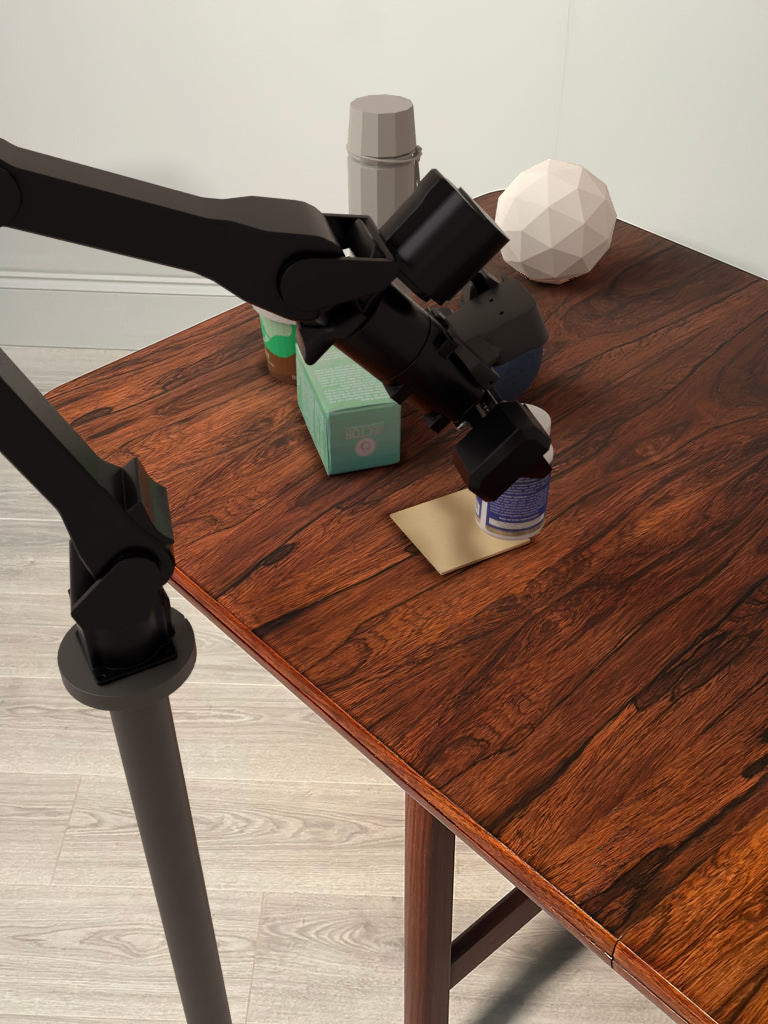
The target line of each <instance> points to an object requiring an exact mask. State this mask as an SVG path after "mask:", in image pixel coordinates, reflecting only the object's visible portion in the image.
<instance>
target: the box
mask: <svg viewBox="0 0 768 1024" xmlns="http://www.w3.org/2000/svg"><path fill="white" fill-rule="evenodd" d="M296 372H297V385H296V394H297V395H296V397H297V398H296V399H297V400H296V401H297V405H298V407H299V409H300V413H301V415H302V418H303V420H304V422H305V425H306V428H307V430H308V432H309V434H310V437H311V439H312V441H313V444H314V446H315V448H316V451H317V452H318V455H319V457H320V459H321V462H322V465H323V467H324V469H325V472H326V474H327V476H334V475H341V474H345V473H346V474H347V473H351V472H356V471H361V470H362V471H363V470H367V469H373V468H379V467H386V466H391V465H397V464H398V463H399V462H401V444H402V404H401V405H399V404H398V403H396V402H395V401H394V400H392V399H391V398H390V397H389V395H388V393H387V391H386V389H385V387H384V386H383V384H382V382H380V381H379V380H378V379H376V378H375V377H374V376H372V375H371V374H370V373H369V372H367V371H366V370H365V369H363V368H362V367H361V366H359V365H358V364H357V363H356V362H354V361H353V360H352V359H350V358H349V357H348V356H346V355H345V354H344V353H343V352H341V351H340V350H339V349H337V348H336V347H335V346H333V345H332V346H331V347H330V348H329V349H328V350H327V352H326V353H325V354H324V355H323V356H322V357H321V358H320V359H319V360H318V361H317V362H316V363H315V364H314V365H311V366H309V365H307V364H306V363H305V361H304V359H303V357H302V354H301V352H300V349H299V347H298V344H297V343H296Z"/></svg>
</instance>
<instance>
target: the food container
mask: <svg viewBox="0 0 768 1024" xmlns="http://www.w3.org/2000/svg"><path fill="white" fill-rule="evenodd" d="M251 307H252V308H253V309H254V311H255V312H256V313H258V315H259V321H260V327H261V332H262V339H263V344H264V352H265V357H266V363H267V368H268V369H267V370H268V372H269V373H270V374H271V375H272V376H273V378H275V379H276V380H278V381H280V382H282V383H286V384H289V385H293V386H297V372H296V343H297V342H296V339H295V335H296V323H295V321H291V320H288V319H285V318H283V317H280V316H278V315H276V314H273V313H271V312H268V311H266V310H264V309H261V308H259V307H257V306H254V305H252V304H251Z"/></svg>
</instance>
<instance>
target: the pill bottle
mask: <svg viewBox="0 0 768 1024" xmlns="http://www.w3.org/2000/svg"><path fill="white" fill-rule="evenodd" d="M520 403H521V404H522V405H523V404H524V403H522V402H520ZM525 404H526V405H527V407H528V408H529V410H530V411H531V412H532V414H533V415H534V416H535V418H536V419H537V420H538V421H539V423H540V424H541V426H542V427H543V428H544V430H545V431H546V432H547V434H548V435H549V436H550V434H551V425H552V420H551V419H552V418H551V416H550V415H549V413H547V411H545V410H544V409H543V408H541V407H539V406H536V405H533V404H529V403H525ZM543 456H544V458H545V459H546V460H547V462H548V463H549V464H550V466H551V467H552V468H553V463H554V447H553V445H552V444H551V445H550V449H549V451H548V452H547V453H546V454H544V455H543ZM551 476H552V472H551V473H550V474H549V475H547V476H546V477H545V478H544V479H532V478H519V479H518V480H517V481H516V482H515V483H514V484H513V485H512V486H511V487H509V488H508V489H507V490H506V491H505V492H504V493H503V494H502V495H501V496H500V497H499V498H498V499H497V500H496V501H495V502H485V501H483V500H482V499H480V498H479V497H478V496H476V500H475V520H476V523H477V524H478V526H479V527H480V528H481V529H482V530H483V531H484V532H485V533H487V534H488V535H490V536H492V537H495V538H498V539H501V540H508V541H517V540H523V539H527V538H529V539H531V538H532V537H534V536H536V535H537V534H538V533H539V532H540V531H541V530H542V529H543V527H544V525H545V521H546V516H547V509H548V500H549V493H550V486H551V478H552V477H551Z"/></svg>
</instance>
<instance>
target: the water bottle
mask: <svg viewBox="0 0 768 1024" xmlns="http://www.w3.org/2000/svg"><path fill="white" fill-rule="evenodd" d="M348 115H349V116H348V129H347V143H346V144H345V149H346V153H347V155H348V156H347V157H346V159H347V161H346V162H347V197H348V198H347V199H348V200H347V201H348V214H353V215H369V216H371V218H372V219H373V221H374V223H375V224H376V226H377V227H379V228H381V227H382V226H383V225H384V223H385V222H386V221H387V220H388V219H389V218H390V217H391V216H392V215H393V214H394V213H395V212H396V211H397V210H398V209H399V207H400V206H401V205H402V204H403V203H404V202H405V201H406V200H407V199H408V198H409V197H410V196H411V195H412V193H413V192H414V190H415V189H416V187H417V185H418V184H419V182H420V181H421V175H420V174H421V173H420V162H421V157H422V155H423V152H422V151H423V147H421V146H420V145H418V144H417V135H416V122H415V110H414V103H413V102H412V100H411V99H410V98H409V99H408V98H406V97H404V96H402V95H395V94H388V93H387V94H386V93H384V94H367V95H364V96H360V97H356V98H355V99H353V100H352V101H351V102H350V103H349V114H348ZM349 257H353V255H352V253H351V251H350V250H349ZM393 283H394V284H395V285H396V286H397V287H398V288H399V289H401V290H402V291H403V292H404V293H405V294H406V295H408V296H409V297H410V298H411V299H412V300H413V292H412V291H411V290H410V289H409V288H408V287H407V286H406V285H405V284H404V283H402V282H401V281H400V280H399V279H398V278H396V279H395V280H394V281H393Z"/></svg>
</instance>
